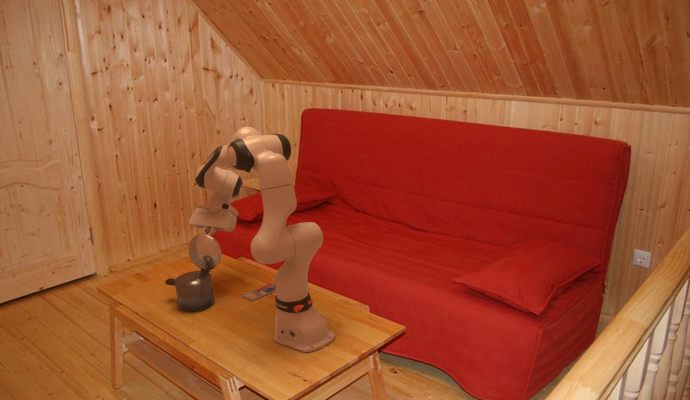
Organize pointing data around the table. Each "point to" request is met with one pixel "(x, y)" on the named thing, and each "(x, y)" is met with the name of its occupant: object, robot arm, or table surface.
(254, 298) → the smartphone
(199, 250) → the lid
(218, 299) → the table surface
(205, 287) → the cooker pot
